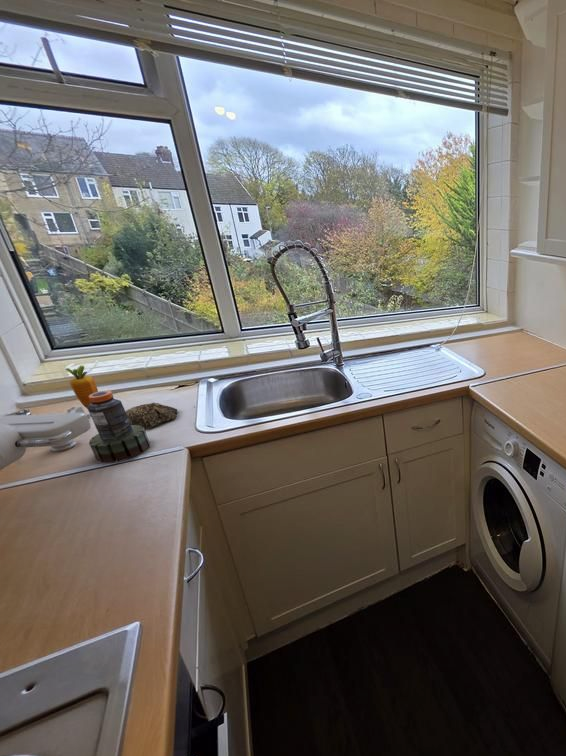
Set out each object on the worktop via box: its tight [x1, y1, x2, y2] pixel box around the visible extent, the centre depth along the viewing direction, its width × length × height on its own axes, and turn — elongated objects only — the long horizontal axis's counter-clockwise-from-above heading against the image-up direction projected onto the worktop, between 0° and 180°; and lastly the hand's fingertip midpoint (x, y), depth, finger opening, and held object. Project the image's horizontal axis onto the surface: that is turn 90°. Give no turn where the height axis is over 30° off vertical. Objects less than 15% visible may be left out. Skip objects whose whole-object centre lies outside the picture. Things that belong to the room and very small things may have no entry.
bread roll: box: [125, 402, 179, 429], centre depth 116 cm, size 13×12×5 cm
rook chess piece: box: [49, 438, 77, 452], centre depth 101 cm, size 4×4×8 cm
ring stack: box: [88, 425, 151, 464], centre depth 101 cm, size 10×10×5 cm
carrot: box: [65, 364, 99, 410], centre depth 117 cm, size 5×5×15 cm
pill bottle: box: [87, 390, 133, 440], centre depth 98 cm, size 6×6×11 cm
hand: (53, 411), depth 84 cm, fingers open, 8 cm apart
